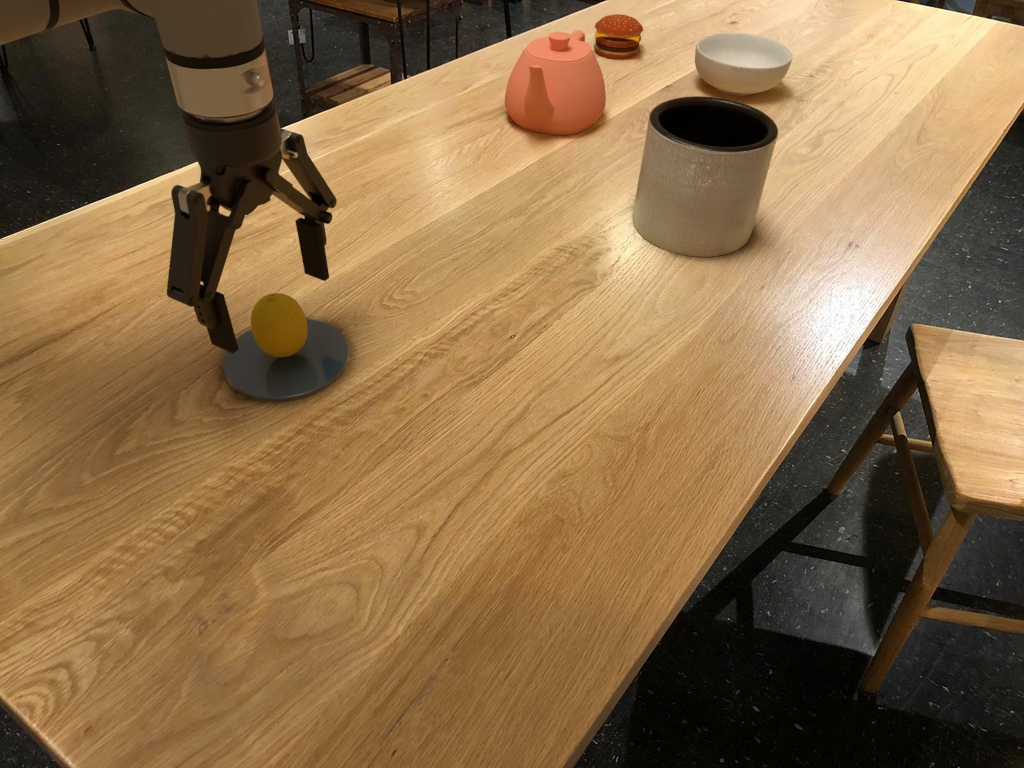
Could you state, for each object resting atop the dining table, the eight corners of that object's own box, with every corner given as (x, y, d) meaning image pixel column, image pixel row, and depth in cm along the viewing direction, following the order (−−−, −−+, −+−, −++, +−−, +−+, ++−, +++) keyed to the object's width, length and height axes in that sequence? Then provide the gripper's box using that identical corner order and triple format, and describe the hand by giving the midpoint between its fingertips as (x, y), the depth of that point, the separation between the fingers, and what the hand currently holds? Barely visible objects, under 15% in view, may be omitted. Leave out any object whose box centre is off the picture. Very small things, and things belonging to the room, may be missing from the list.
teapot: (576, 159, 119) (584, 72, 110) (477, 139, 123) (477, 54, 114) (619, 99, 136) (629, 20, 127) (531, 83, 140) (535, 5, 131)
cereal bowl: (673, 89, 140) (680, 49, 135) (713, 63, 150) (721, 25, 145) (759, 115, 133) (770, 74, 128) (796, 86, 143) (807, 47, 138)
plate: (199, 380, 80) (195, 370, 79) (282, 315, 89) (280, 304, 88) (296, 425, 76) (293, 415, 75) (374, 352, 84) (372, 341, 83)
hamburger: (594, 41, 157) (597, 7, 153) (640, 45, 156) (645, 11, 152) (590, 57, 150) (593, 22, 146) (639, 62, 149) (644, 26, 145)
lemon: (249, 366, 80) (232, 305, 75) (276, 334, 84) (262, 274, 78) (297, 378, 79) (283, 316, 73) (322, 345, 83) (310, 284, 77)
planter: (769, 257, 100) (803, 146, 90) (653, 269, 98) (674, 155, 87) (721, 196, 112) (746, 91, 101) (616, 205, 109) (631, 98, 98)
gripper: (140, 180, 53) (211, 396, 68) (357, 65, 70) (377, 260, 84) (66, 152, 56) (150, 367, 70) (293, 48, 72) (323, 240, 87)
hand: (273, 309), depth 77 cm, fingers open, 13 cm apart
